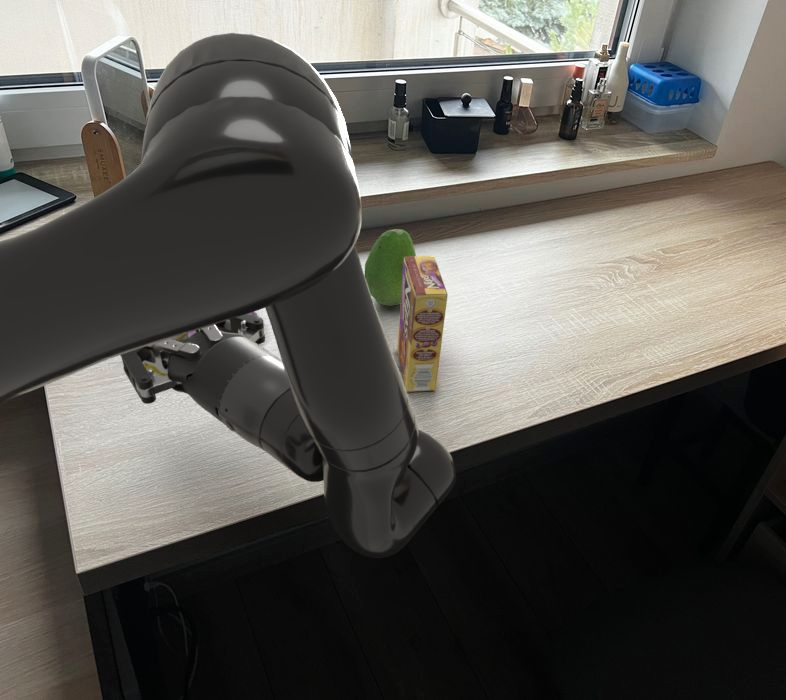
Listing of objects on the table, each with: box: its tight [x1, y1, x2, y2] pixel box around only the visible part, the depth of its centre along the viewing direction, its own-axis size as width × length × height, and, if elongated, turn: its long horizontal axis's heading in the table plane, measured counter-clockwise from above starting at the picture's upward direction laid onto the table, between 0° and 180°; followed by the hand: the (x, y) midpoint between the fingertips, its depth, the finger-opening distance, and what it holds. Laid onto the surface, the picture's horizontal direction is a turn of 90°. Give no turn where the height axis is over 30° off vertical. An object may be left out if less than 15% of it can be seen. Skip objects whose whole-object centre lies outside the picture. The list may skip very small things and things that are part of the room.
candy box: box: [396, 255, 449, 393], centre depth 92 cm, size 9×4×15 cm, turn 13°
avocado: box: [364, 228, 417, 307], centre depth 105 cm, size 8×8×12 cm
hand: (145, 315), depth 72 cm, fingers closed on supplement bottle, 4 cm apart
